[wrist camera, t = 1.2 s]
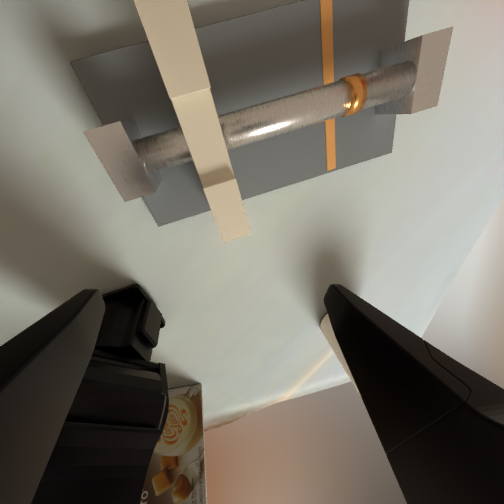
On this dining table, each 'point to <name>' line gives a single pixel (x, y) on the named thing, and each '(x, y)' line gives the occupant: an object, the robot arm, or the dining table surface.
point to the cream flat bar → (194, 108)
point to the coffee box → (179, 453)
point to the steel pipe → (282, 113)
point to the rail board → (259, 92)
